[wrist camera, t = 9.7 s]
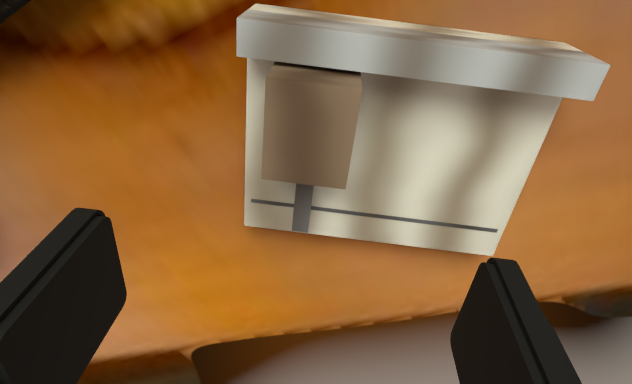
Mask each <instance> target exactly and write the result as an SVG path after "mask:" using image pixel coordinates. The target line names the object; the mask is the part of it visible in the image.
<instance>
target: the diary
mask: <svg viewBox="0 0 632 384" xmlns="http://www.w3.org/2000/svg"><path fill="white" fill-rule="evenodd" d="M30 1H31V0H0V24H1V23H2V22H3V21H5V20H6V19H7V18H9V17H10V16H11V15H13V14H14V13H15V12H16V11H18V10H19V9H20V8H22V7H23V6H24V5H26V4H27V3H28V2H30Z"/></svg>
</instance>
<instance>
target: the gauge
mask: <svg viewBox="0 0 632 384" xmlns="http://www.w3.org/2000/svg"><path fill="white" fill-rule="evenodd" d="M362 92H363V89H362V80H361V72H357V71H349V70H341V69H333V68H325V67H317V66H309V65H301V64H293V63H285V62H277V61H275V63H274V64H273V66H272V68H271V70H270V71H269V73H268V75H267V77H266V81H265V105H264V128H263V151H262V175H261V179H265V180H273V181H281V182H289V183H296V190H295V201H294V211H293V222H292V231H298V232H306V233H308V228H309V220H310V212H311V204H312V195H313V187H314V186H321V187H329V188H337V189H345V190H346V184H347V179H348V173H349V167H350V161H351V155H352V150H353V144H354V138H355V132H356V126H357V121H358V115H359V109H360V103H361V97H362Z"/></svg>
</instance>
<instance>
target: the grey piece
mask: <svg viewBox="0 0 632 384" xmlns="http://www.w3.org/2000/svg"><path fill="white" fill-rule="evenodd" d="M237 57H245V58H247V98H246V153H245V207H244V226H252V227H260V228H268V229H276V230H284V231H292V222H293V211H294V201H295V190H296V183H289V182H281V181H273V180H265V179H261V175H262V151H263V128H264V105H265V81H266V77H267V75H268V73H269V71H270V70H271V68H272V66H273V64H274V63H275V61H277V62H285V63H293V64H301V65H309V66H317V67H325V68H333V69H341V70H349V71H357V72H361V80H362V89H363V92H362V97H361V103H360V109H359V115H358V121H357V126H356V132H355V138H354V144H353V150H352V155H351V161H350V167H349V173H348V179H347V184H346V190H345V189H337V188H329V187H321V186H314V187H313V195H312V204H311V212H310V220H309V228H308V233H309V234H317V235H325V236H333V237H341V238H349V239H357V240H366V241H374V242H382V243H390V244H398V245H406V246H414V247H422V248H431V249H439V250H447V251H455V252H463V253H471V254H479V255H487V256H493V254H494V252H495V249H496V247H497V245H498V243H499V240H500V238H501V236H502V234H503V231H504V229H505V227H506V225H507V222H508V220H509V218H510V216H511V213H512V211H513V209H514V207H515V204H516V202H517V200H518V197H519V195H520V193H521V191H522V188H523V186H524V184H525V182H526V179H527V177H528V175H529V173H530V170H531V168H532V166H533V164H534V161H535V159H536V157H537V155H538V152H539V150H540V148H541V145H542V143H543V141H544V139H545V136H546V134H547V132H548V130H549V127H550V125H551V123H552V121H553V118H554V116H555V114H556V112H557V109H558V107H559V105H560V103H561V100H562V98H563V97H564V98H572V99H580V100H588V101H594V98H595V96H596V94H597V92H598V90H599V88H600V86H601V84H602V82H603V80H604V78H605V76H606V74H607V72H608V70H609V68H610V65H609V64H607V63H605V62H603V61H601V60H599V59H597V58H595V57H593V56H591V55H589V54H587V53H585V52H583V51H580V50H578V49H576V48H574V47H572V46H570V45H568V44H566V43H564V42H556V41H548V40H540V39H532V38H524V37H517V36H509V35H501V34H493V33H485V32H477V31H469V30H461V29H453V28H445V27H437V26H430V25H422V24H414V23H406V22H398V21H390V20H382V19H374V18H366V17H358V16H350V15H343V14H335V13H327V12H319V11H311V10H303V9H295V8H287V7H279V6H271V5H263V4H255V5H253V6H252V7H251V8H249V9H248V10H247V11H245V12H244V13H243V14H241V15H240V16H239V17H237ZM292 232H298V231H292ZM301 233H306V232H301Z"/></svg>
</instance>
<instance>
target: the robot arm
mask: <svg viewBox="0 0 632 384" xmlns="http://www.w3.org/2000/svg"><path fill="white" fill-rule="evenodd" d="M126 295H127V293H126V287H125V283H124V278H123V273H122V269H121V264H120V260H119V255H118V250H117V246H116V241H115V237H114V232H113V228H112V223H111V220H110V218H109V217H105V214H104V213H103V212H102V211H100V210H94V209H86V208H75V209H74V210H72V211H71V212H70V213H69V214H68V215H67V216H66V217H65V218H64V219H63V220H62V221H61V222H60V223H59V224H58V225H57V226H56V227H55V228H54V229H53V230H52V231H51V232H50V233H49V234H48V235H47V236H46V237H45V238H44V239H43V240H42V241H41V243H40V244H39V245H38V246H37V247H36V248H35V249H34V250H33V251H32V252H31V253H30V254H29V255H28V256H27V257H26V258H25V259H24V260H23V261H22V262H21V263H20V264H19V265H18V266H17V267H16V268H15V269H14V270H13V271H12V272H11V273H10V274H9V275H8V276H7V277H6V278H5V279H4V280H3V281H2V282H1V283H0V384H76V383H77V382H78V380H79V379H80V377H81V375H82V374H83V372H84V370H85V369H86V367H87V365H88V364H89V362H90V360H91V359H92V357H93V355H94V354H95V352H96V350H97V349H98V347H99V346H100V344H101V342H102V341H103V339H104V337H105V336H106V334H107V332H108V331H109V329H110V327H111V326H112V324H113V322H114V321H115V319H116V317H117V316H118V314H119V312H120V311H121V309H122V308H123V306H124V304H125V301H126ZM451 348H452V352H453V357H454V361H455V365H456V369H457V373H458V377H459V381H460V384H582V383H581V381H580V379H579V377H578V375H577V373H576V371H575V369H574V368H573V366H572V363H571V361H570V360H569V358H568V356H567V354H566V352H565V350H564V348H563V346H562V344H561V342H560V340H559V338H558V336H557V334H556V332H555V330H554V328H553V326H552V325H551V323H550V322H549V321H548V320H547V319H545V317H544V315H543V313H542V311H541V309H540V307H539V305H538V303H537V301H536V299H535V297H534V295H533V293H532V291H531V289H530V287H529V285H528V283H527V281H526V279H525V277H524V275H523V273H522V271H521V269H520V267H519V265H518V263H517V262H516V261H514V260H508V259H500V258H490V259H488V261H487V263H484V262H483V263H481V264H480V265H479V267H478V270H477V272H476V275H475V277H474V279H473V282H472V284H471V287H470V289H469V291H468V294H467V296H466V298H465V301H464V303H463V306H462V308H461V310H460V313H459V315H458V318H457V320H456V322H455V325H454V327H453V329H452V332H451Z"/></svg>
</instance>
